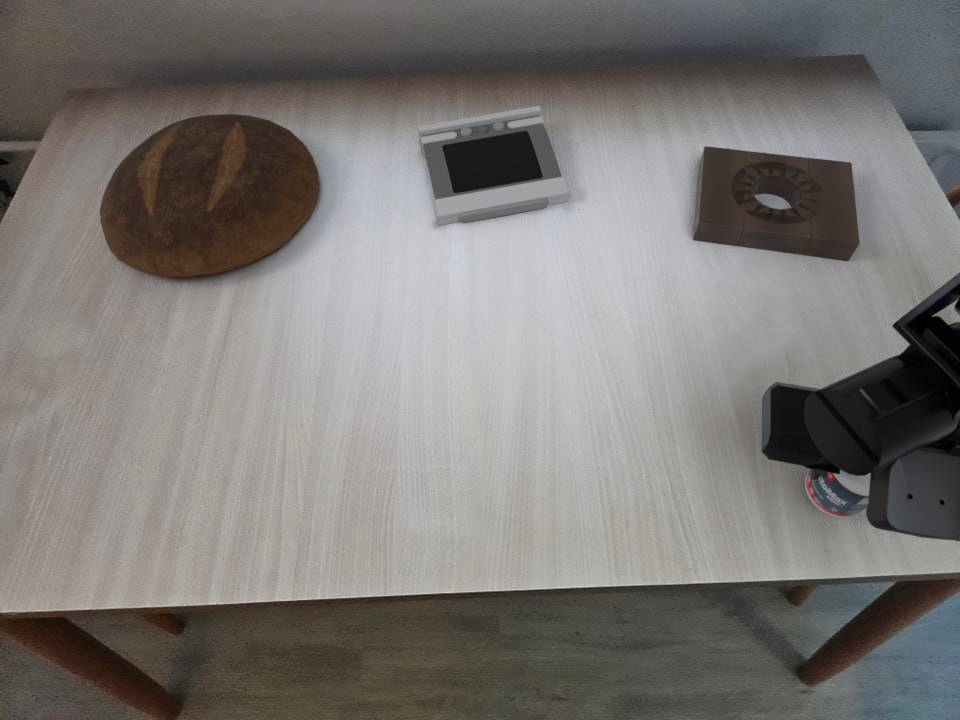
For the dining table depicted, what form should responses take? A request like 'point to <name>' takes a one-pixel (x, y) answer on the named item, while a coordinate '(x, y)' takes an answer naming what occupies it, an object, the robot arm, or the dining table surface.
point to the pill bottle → (839, 493)
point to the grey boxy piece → (491, 166)
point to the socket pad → (748, 223)
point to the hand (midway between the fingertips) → (845, 480)
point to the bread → (208, 196)
